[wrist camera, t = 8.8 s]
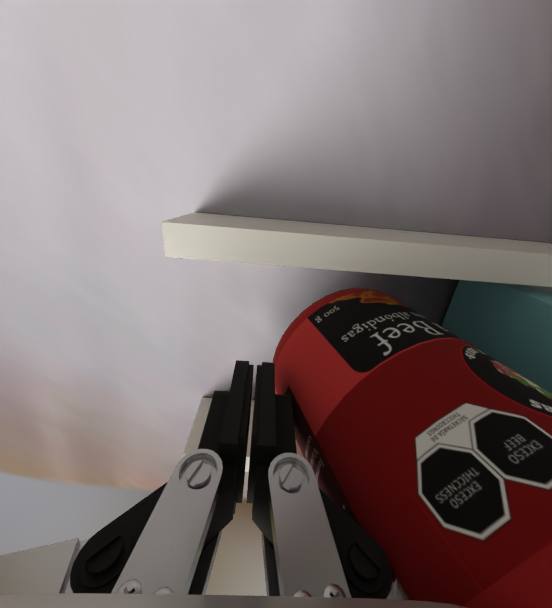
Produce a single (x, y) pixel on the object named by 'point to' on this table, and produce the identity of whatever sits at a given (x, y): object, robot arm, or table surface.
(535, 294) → the pusher
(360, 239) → the lane
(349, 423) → the canned food
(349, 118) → the table surface
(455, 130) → the table surface
